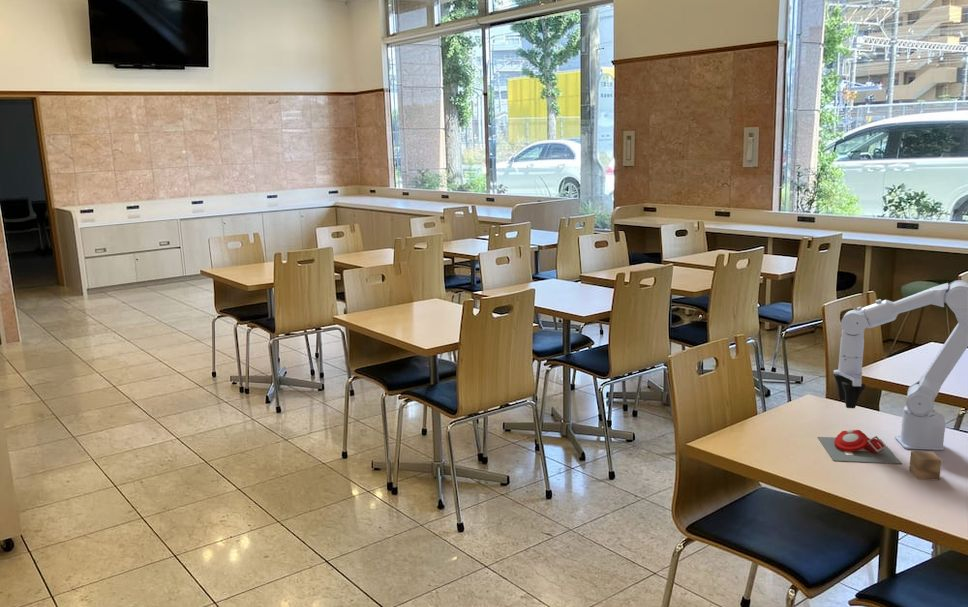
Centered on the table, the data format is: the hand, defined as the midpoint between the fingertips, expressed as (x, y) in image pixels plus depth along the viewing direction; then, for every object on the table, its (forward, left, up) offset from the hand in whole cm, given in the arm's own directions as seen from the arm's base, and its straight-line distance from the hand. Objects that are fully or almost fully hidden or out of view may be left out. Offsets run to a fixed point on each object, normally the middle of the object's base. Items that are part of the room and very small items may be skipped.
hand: (847, 403), depth 216 cm
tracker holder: (0, +12, -8) cm, 15 cm away
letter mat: (0, +12, -8) cm, 15 cm away
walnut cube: (-11, +26, -8) cm, 29 cm away
